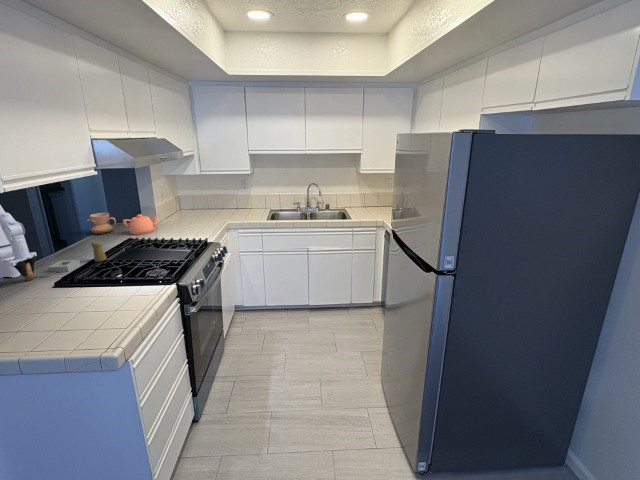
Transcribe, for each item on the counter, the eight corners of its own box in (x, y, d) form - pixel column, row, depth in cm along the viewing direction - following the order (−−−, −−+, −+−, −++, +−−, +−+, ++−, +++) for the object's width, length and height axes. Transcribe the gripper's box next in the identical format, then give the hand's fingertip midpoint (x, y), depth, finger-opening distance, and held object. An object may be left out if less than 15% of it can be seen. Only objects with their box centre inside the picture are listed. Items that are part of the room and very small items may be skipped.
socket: (49, 272, 175) (47, 267, 174) (62, 265, 185) (60, 260, 184) (68, 271, 176) (67, 266, 175) (80, 264, 185) (79, 259, 184)
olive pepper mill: (104, 257, 196) (100, 239, 193) (108, 259, 193) (104, 241, 189) (92, 260, 192) (88, 241, 189) (96, 262, 188) (92, 243, 185)
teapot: (163, 227, 260) (160, 210, 256) (161, 232, 244) (157, 215, 240) (127, 231, 252) (124, 214, 248) (122, 237, 237) (118, 218, 233)
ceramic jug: (87, 236, 241) (83, 217, 237) (93, 231, 254) (88, 213, 250) (115, 234, 247) (112, 215, 243) (119, 229, 260) (116, 211, 256)
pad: (32, 277, 169) (32, 276, 169) (44, 271, 177) (43, 270, 177) (48, 276, 170) (48, 276, 170) (59, 270, 177) (59, 270, 177)
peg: (22, 280, 164) (18, 265, 162) (28, 277, 168) (23, 262, 166) (30, 280, 165) (25, 265, 162) (36, 277, 168) (31, 262, 166)
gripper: (16, 253, 155) (25, 279, 159) (39, 243, 169) (46, 268, 173) (0, 253, 154) (9, 280, 159) (25, 244, 168) (32, 269, 172)
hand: (28, 274), depth 166 cm, fingers closed on peg, 4 cm apart
